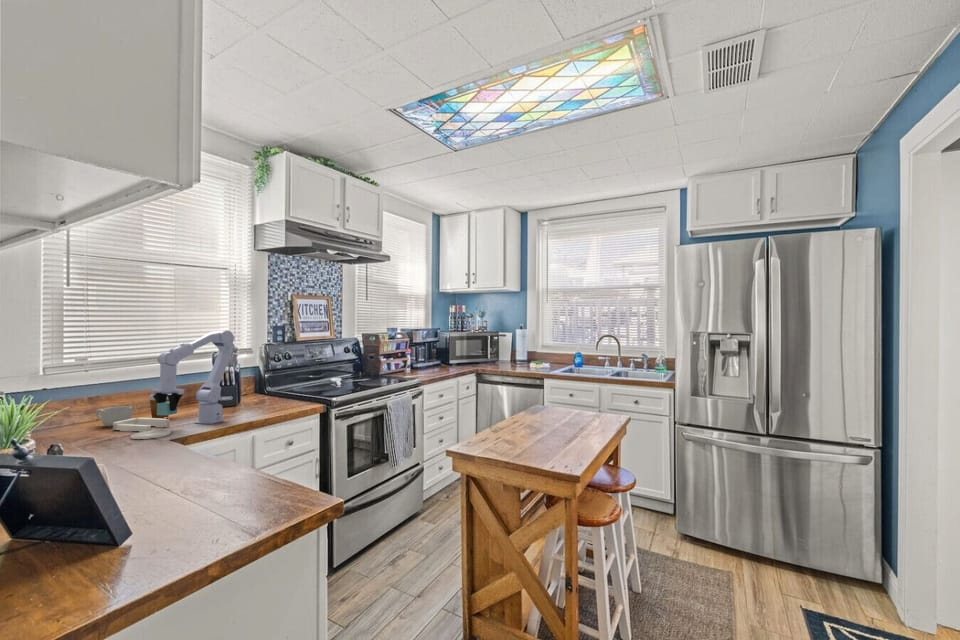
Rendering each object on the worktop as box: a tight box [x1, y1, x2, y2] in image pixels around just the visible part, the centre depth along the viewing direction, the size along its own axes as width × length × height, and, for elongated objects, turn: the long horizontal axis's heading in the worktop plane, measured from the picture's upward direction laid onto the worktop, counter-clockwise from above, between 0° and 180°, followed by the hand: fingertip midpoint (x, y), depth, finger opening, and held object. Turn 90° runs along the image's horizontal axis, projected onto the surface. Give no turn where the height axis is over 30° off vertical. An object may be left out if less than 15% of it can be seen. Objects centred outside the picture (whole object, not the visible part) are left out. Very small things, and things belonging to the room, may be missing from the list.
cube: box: [157, 402, 178, 416], centre depth 184 cm, size 5×5×5 cm
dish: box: [130, 429, 172, 439], centre depth 173 cm, size 13×13×1 cm
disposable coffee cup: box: [148, 393, 172, 418], centre depth 207 cm, size 10×10×12 cm
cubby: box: [112, 417, 171, 433], centre depth 186 cm, size 17×11×4 cm, turn 81°
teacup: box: [95, 405, 133, 428], centre depth 192 cm, size 14×11×8 cm
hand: (167, 410), depth 184 cm, fingers closed on cube, 5 cm apart
